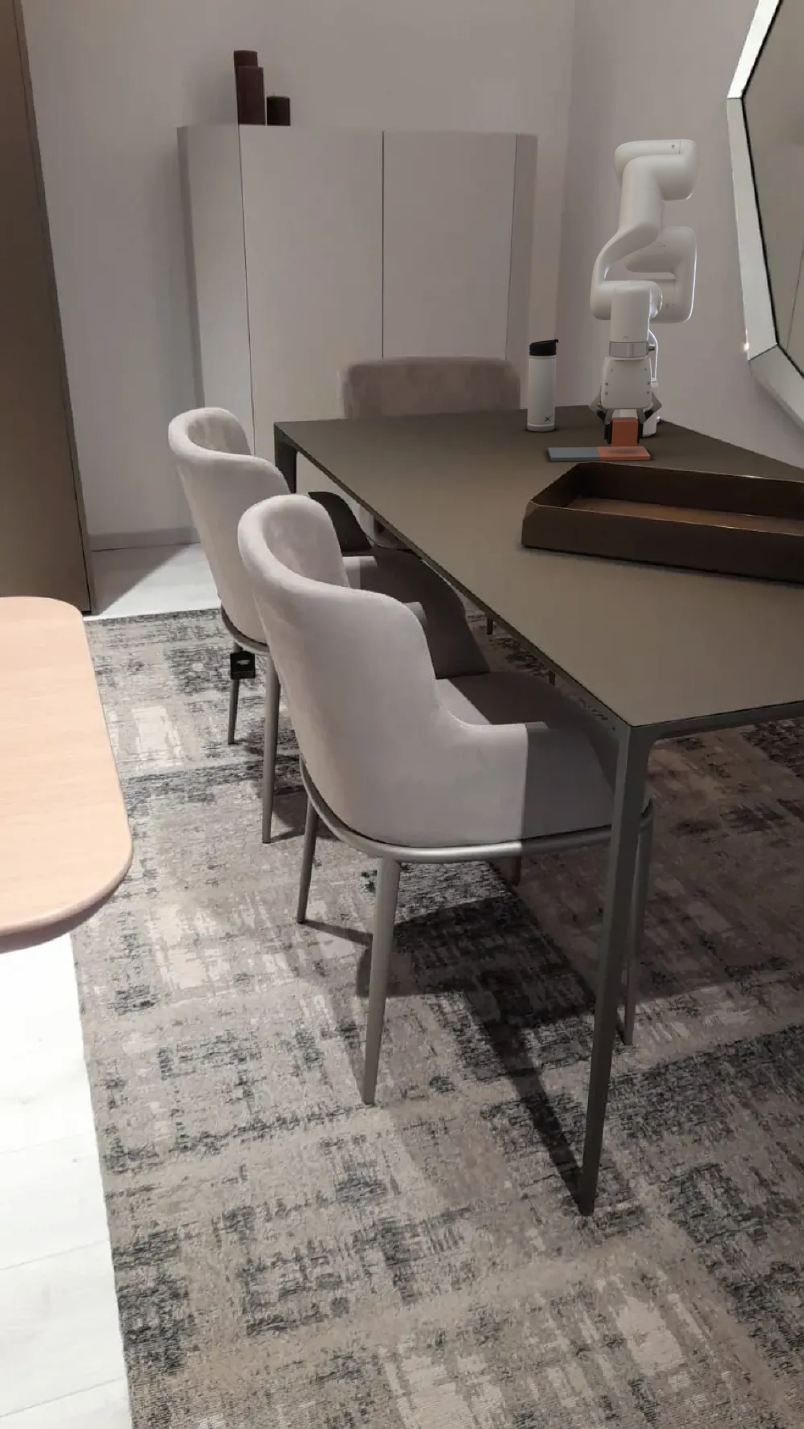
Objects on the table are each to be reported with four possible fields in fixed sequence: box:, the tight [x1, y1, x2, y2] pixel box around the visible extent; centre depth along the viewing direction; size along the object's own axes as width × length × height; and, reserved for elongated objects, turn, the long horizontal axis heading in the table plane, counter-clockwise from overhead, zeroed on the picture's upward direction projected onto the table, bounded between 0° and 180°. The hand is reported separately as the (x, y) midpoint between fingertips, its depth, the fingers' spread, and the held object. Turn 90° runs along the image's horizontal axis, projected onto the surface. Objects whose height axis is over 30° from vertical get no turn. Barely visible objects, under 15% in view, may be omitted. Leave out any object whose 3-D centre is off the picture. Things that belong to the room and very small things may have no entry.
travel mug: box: [526, 338, 559, 433], centre depth 252 cm, size 6×7×20 cm
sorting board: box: [547, 445, 651, 462], centre depth 228 cm, size 10×20×1 cm, turn 87°
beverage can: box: [620, 378, 660, 438], centre depth 245 cm, size 8×8×12 cm
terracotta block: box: [610, 417, 638, 447], centre depth 226 cm, size 5×5×5 cm
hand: (622, 441), depth 227 cm, fingers closed on terracotta block, 5 cm apart
